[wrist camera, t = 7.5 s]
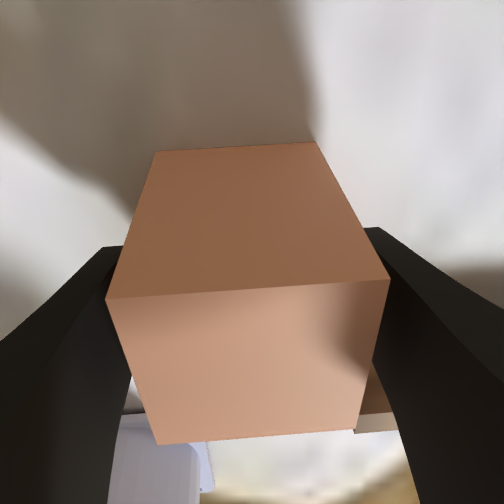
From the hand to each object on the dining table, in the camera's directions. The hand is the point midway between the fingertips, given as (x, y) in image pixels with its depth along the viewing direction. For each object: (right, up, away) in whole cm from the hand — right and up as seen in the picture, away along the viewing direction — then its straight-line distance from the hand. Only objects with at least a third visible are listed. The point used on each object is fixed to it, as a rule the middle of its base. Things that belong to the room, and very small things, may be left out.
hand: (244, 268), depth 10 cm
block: (0, +2, +2) cm, 3 cm away
